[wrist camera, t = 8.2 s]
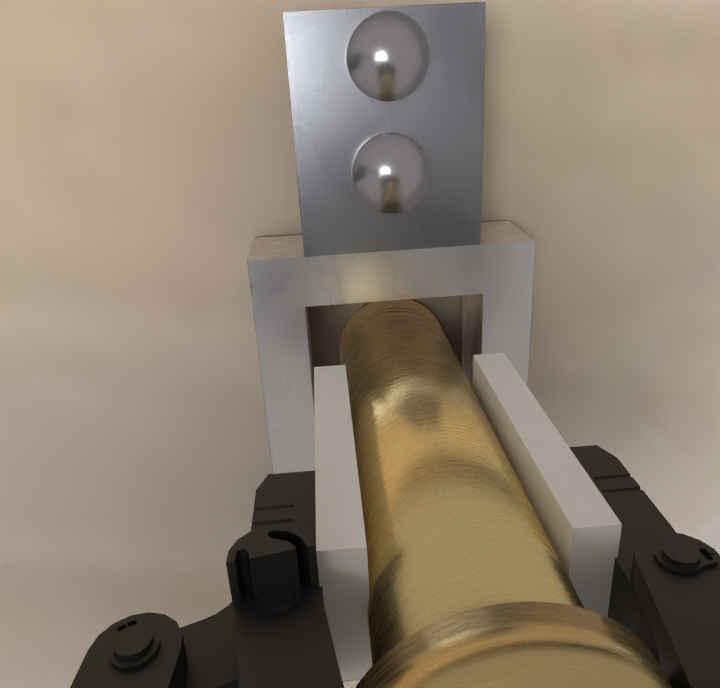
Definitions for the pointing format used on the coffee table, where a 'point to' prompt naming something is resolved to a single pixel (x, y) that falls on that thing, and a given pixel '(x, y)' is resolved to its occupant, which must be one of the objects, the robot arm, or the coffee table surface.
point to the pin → (459, 532)
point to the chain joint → (384, 198)
